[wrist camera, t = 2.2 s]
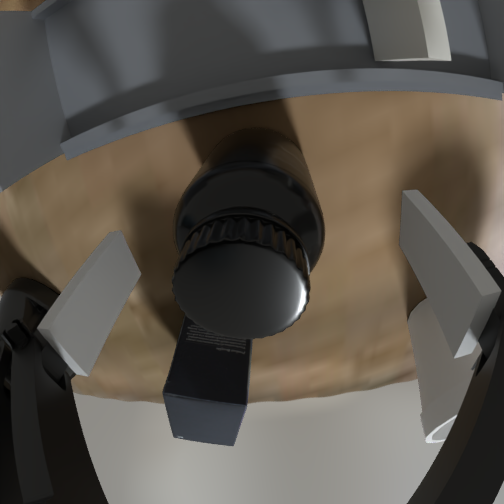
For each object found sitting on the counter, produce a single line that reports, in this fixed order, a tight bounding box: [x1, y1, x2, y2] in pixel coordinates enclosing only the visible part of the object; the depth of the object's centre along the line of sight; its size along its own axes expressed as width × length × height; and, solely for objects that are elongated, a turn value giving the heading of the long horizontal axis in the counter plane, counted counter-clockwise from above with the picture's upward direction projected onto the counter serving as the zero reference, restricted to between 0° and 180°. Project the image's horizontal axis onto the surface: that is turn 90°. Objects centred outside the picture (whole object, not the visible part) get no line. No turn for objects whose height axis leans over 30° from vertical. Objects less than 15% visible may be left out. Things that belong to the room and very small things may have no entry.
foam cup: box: [407, 298, 482, 443], centre depth 21 cm, size 10×9×13 cm
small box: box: [163, 314, 253, 446], centre depth 25 cm, size 11×6×10 cm, turn 172°
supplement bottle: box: [172, 128, 325, 340], centre depth 15 cm, size 7×7×12 cm
